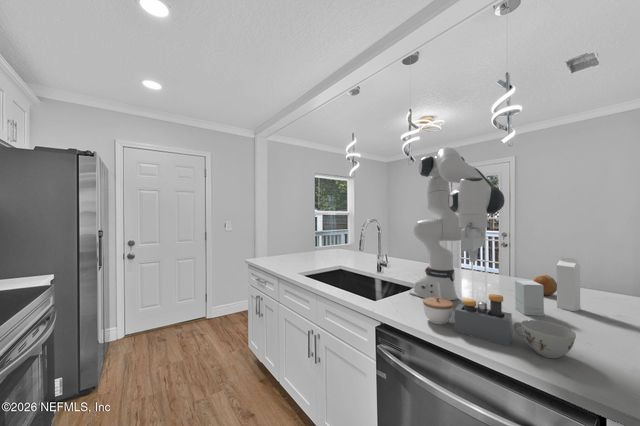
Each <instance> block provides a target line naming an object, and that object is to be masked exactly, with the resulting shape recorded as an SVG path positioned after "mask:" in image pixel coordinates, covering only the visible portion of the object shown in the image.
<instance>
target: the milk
mask: <svg viewBox="0 0 640 426" xmlns="http://www.w3.org/2000/svg"><path fill="white" fill-rule="evenodd" d="M556 283H557V291H556V307H557V308H558V309H562V310H566V311H570V312H577V311H579V310H581V265H580V264H579V263H578V259H577V258H571V257H563V256H560V257H559V261H558V262H557V263H556Z"/></svg>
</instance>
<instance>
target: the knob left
mask: <svg viewBox="0 0 640 426" xmlns="http://www.w3.org/2000/svg"><path fill="white" fill-rule="evenodd" d="M462 304H464V308H465V310H466V311H471V312H475V307H477V301H476V300H474V299H470V298H469V299H468V298H464V299H462Z"/></svg>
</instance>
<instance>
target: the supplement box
mask: <svg viewBox="0 0 640 426" xmlns="http://www.w3.org/2000/svg"><path fill="white" fill-rule="evenodd" d="M514 290H515V292H514V295H515V296H514V300H515V301H514V303H515V304H514V305H515V310H517V311H518V312H520V313H521V314H523V315H524V316H539V317H540V316H541V317H543V316H545V311H544V309H545V308H544V307H545V306H544V300H545V299H544V297H545V295H544V294H543V285H541V284H539V283H537V282H534V281H533V280H515V281H514Z"/></svg>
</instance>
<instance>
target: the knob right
mask: <svg viewBox="0 0 640 426" xmlns="http://www.w3.org/2000/svg"><path fill="white" fill-rule="evenodd" d="M488 300H490V301H489V302H490V305H489V306H490V315H491V316H496V317H500V318H502V312H503V311H502V310H503V307H502V306H503V305H502V302H504V296H503V295H501V294H495V293H494V294H493V293H492V294H491V293H490V294H488Z"/></svg>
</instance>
